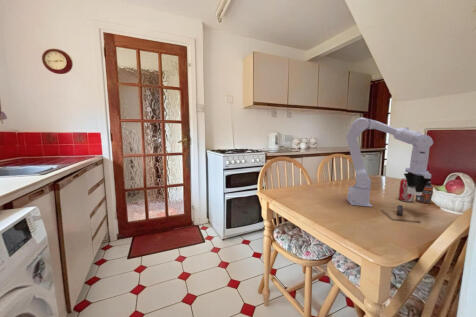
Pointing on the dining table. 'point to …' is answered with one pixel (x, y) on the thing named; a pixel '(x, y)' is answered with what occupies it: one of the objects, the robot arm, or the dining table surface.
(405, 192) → the beverage can
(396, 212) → the shaft stand
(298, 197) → the dining table surface
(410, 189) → the tube
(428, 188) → the supplement bottle
